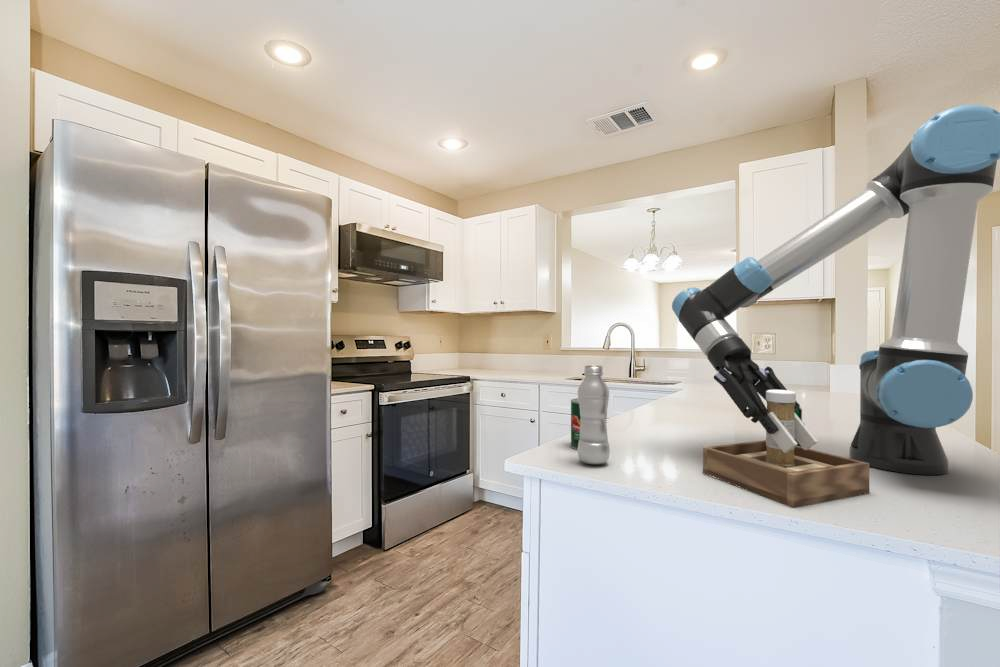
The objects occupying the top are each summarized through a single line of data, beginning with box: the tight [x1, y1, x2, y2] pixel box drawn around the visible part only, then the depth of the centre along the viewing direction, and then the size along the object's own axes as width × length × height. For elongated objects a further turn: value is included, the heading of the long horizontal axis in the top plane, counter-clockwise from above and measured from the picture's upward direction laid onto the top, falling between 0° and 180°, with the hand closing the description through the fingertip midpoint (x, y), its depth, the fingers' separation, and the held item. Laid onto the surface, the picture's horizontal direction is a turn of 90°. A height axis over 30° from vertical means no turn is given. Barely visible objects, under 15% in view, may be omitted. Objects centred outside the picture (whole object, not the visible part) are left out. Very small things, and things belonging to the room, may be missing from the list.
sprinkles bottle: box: [765, 389, 797, 468], centre depth 81 cm, size 5×5×14 cm
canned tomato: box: [570, 397, 581, 450], centre depth 106 cm, size 8×8×11 cm
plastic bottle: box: [577, 365, 611, 465], centre depth 93 cm, size 6×7×20 cm
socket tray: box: [702, 439, 870, 508], centre depth 81 cm, size 18×18×5 cm
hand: (801, 446), depth 78 cm, fingers closed on sprinkles bottle, 4 cm apart
